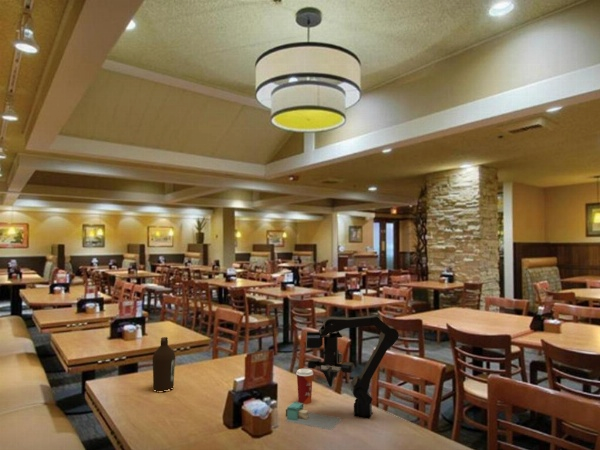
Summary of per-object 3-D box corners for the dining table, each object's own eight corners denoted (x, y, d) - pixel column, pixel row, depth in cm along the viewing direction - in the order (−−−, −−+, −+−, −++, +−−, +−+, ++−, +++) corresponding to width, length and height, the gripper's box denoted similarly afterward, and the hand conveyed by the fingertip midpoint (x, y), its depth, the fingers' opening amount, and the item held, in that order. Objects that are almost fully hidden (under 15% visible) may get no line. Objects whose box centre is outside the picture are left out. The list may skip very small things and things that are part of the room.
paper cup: (311, 406, 183) (311, 373, 184) (294, 404, 185) (294, 372, 186) (314, 399, 191) (314, 368, 192) (298, 398, 193) (298, 367, 193)
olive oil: (150, 394, 199) (151, 340, 200) (153, 386, 209) (154, 336, 211) (173, 392, 201) (174, 339, 203) (175, 385, 212) (176, 335, 213)
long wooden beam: (308, 417, 170) (308, 410, 171) (306, 419, 168) (306, 413, 168) (288, 413, 174) (288, 407, 174) (285, 416, 172) (285, 409, 172)
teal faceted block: (303, 414, 174) (303, 403, 174) (296, 420, 167) (296, 409, 168) (294, 412, 175) (294, 401, 175) (287, 418, 169) (287, 407, 169)
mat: (342, 419, 170) (342, 418, 170) (332, 430, 159) (332, 429, 159) (296, 411, 178) (296, 410, 178) (284, 422, 167) (284, 421, 167)
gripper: (358, 346, 178) (358, 383, 177) (316, 342, 185) (317, 378, 184) (350, 352, 167) (350, 391, 166) (307, 347, 175) (307, 385, 174)
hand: (330, 386), depth 173 cm, fingers closed
